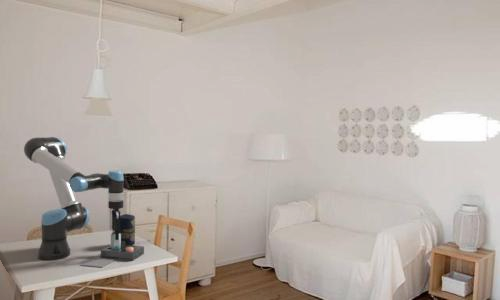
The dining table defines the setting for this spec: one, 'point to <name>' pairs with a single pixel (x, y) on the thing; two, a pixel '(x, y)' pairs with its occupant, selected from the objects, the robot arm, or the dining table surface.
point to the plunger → (130, 249)
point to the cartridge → (113, 242)
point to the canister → (127, 229)
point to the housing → (122, 253)
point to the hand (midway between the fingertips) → (115, 244)
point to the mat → (97, 262)
